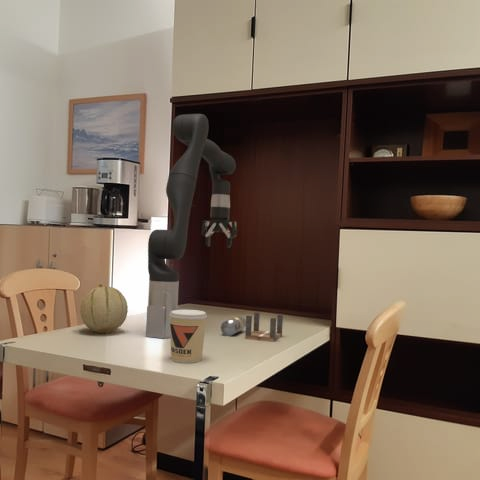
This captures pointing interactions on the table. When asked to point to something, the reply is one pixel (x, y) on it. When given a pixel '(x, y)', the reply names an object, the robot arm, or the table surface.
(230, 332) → the grey cylinder
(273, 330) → the cylinder holder stand
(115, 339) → the table surface
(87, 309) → the cantaloupe
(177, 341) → the coffee cup
